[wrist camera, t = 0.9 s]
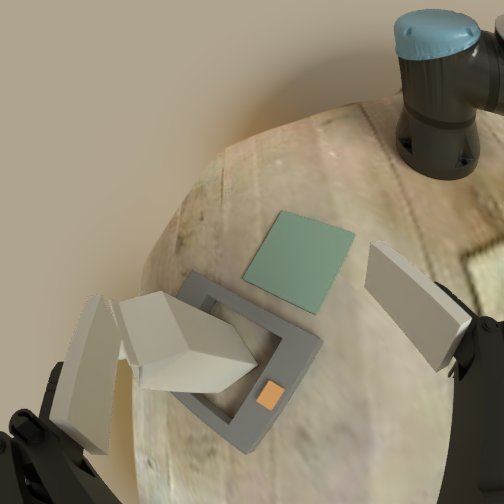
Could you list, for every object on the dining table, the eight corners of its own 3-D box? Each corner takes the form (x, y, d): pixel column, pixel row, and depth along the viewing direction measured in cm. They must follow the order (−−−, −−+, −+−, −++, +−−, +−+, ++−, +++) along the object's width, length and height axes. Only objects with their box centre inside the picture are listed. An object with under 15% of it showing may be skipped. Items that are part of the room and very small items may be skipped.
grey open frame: (201, 275, 45) (175, 258, 39) (323, 341, 32) (311, 332, 27) (150, 363, 41) (119, 356, 36) (253, 450, 29) (228, 461, 24)
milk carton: (232, 324, 39) (132, 274, 23) (259, 365, 34) (158, 340, 19) (196, 353, 39) (89, 320, 24) (219, 393, 35) (106, 384, 19)
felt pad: (283, 212, 43) (282, 210, 43) (355, 235, 37) (354, 233, 36) (244, 280, 41) (242, 278, 41) (316, 315, 34) (315, 314, 34)
